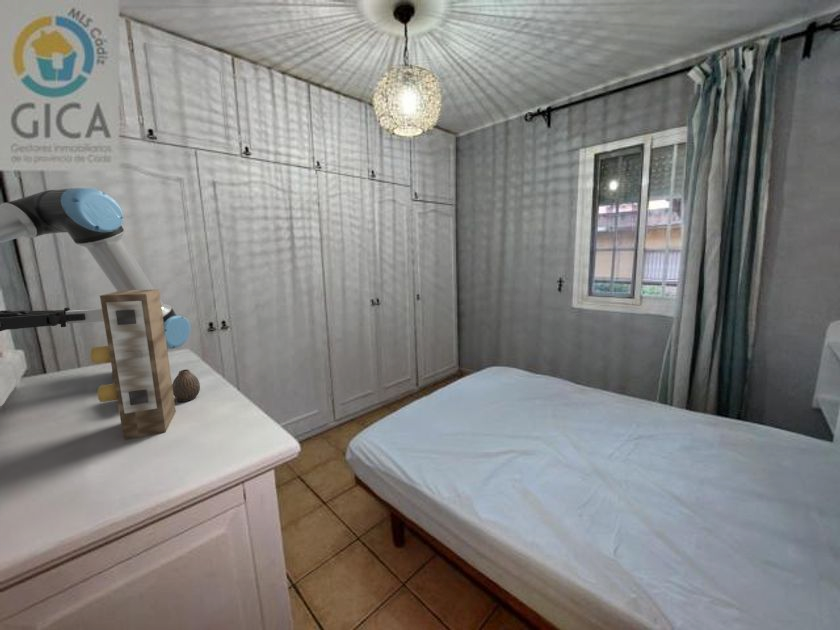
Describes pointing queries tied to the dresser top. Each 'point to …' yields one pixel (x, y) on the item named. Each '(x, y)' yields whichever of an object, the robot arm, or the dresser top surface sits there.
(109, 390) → the button low
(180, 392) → the vase
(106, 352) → the button mid
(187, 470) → the dresser top surface
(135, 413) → the button column
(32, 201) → the robot arm
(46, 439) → the dresser top surface
